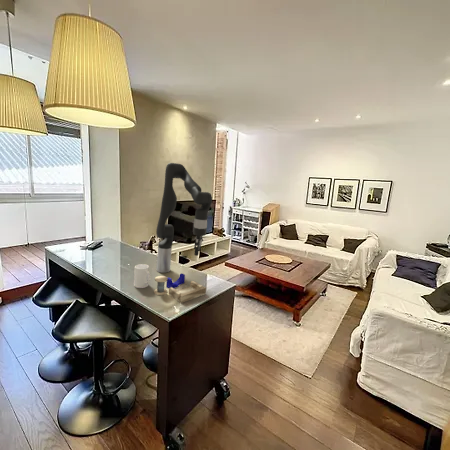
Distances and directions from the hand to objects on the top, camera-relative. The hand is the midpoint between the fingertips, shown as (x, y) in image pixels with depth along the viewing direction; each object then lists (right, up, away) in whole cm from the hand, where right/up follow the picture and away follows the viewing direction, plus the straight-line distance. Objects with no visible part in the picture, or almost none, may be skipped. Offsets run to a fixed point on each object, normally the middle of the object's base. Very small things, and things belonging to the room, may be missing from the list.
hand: (197, 253), depth 148 cm
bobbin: (-21, -22, -3) cm, 31 cm away
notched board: (-6, -24, -2) cm, 25 cm away
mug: (-33, -20, +3) cm, 39 cm away
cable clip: (-14, -21, +8) cm, 27 cm away
